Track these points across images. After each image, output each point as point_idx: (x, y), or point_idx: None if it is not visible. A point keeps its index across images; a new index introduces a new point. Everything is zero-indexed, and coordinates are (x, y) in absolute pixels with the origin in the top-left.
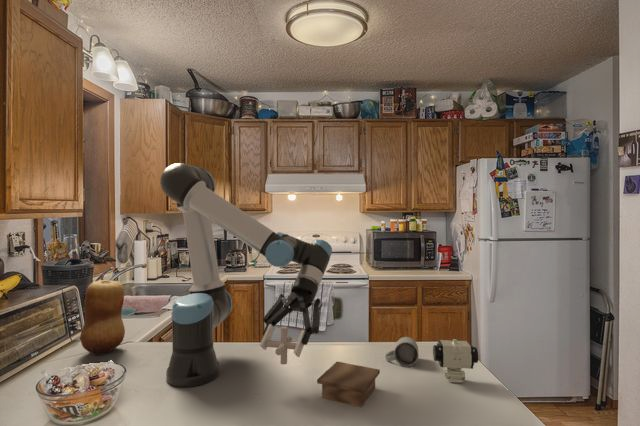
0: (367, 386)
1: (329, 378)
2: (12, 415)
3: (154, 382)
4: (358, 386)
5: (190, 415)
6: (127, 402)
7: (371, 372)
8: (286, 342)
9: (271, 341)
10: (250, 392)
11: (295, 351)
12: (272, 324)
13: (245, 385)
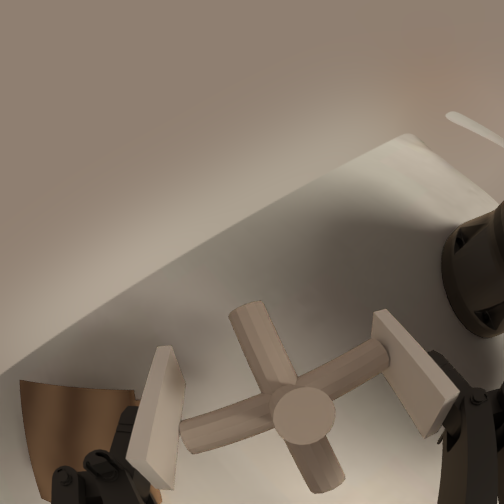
0: (23, 405)
1: (102, 412)
2: (460, 115)
3: None
4: (31, 392)
5: (345, 180)
6: (442, 165)
7: (44, 479)
8: (268, 404)
9: (356, 359)
10: (334, 313)
11: (160, 349)
12: (453, 428)
13: None
